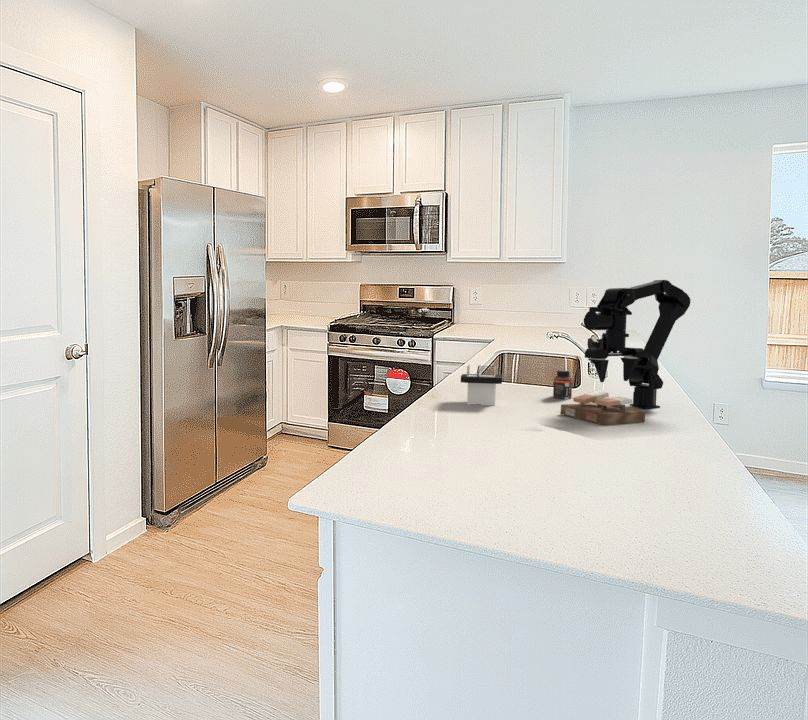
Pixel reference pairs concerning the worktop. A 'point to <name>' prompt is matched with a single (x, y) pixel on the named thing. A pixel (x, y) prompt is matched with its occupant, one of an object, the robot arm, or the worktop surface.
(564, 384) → the supplement bottle
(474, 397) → the white and black block
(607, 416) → the switch unit
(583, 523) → the worktop surface
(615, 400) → the block
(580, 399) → the rocker
